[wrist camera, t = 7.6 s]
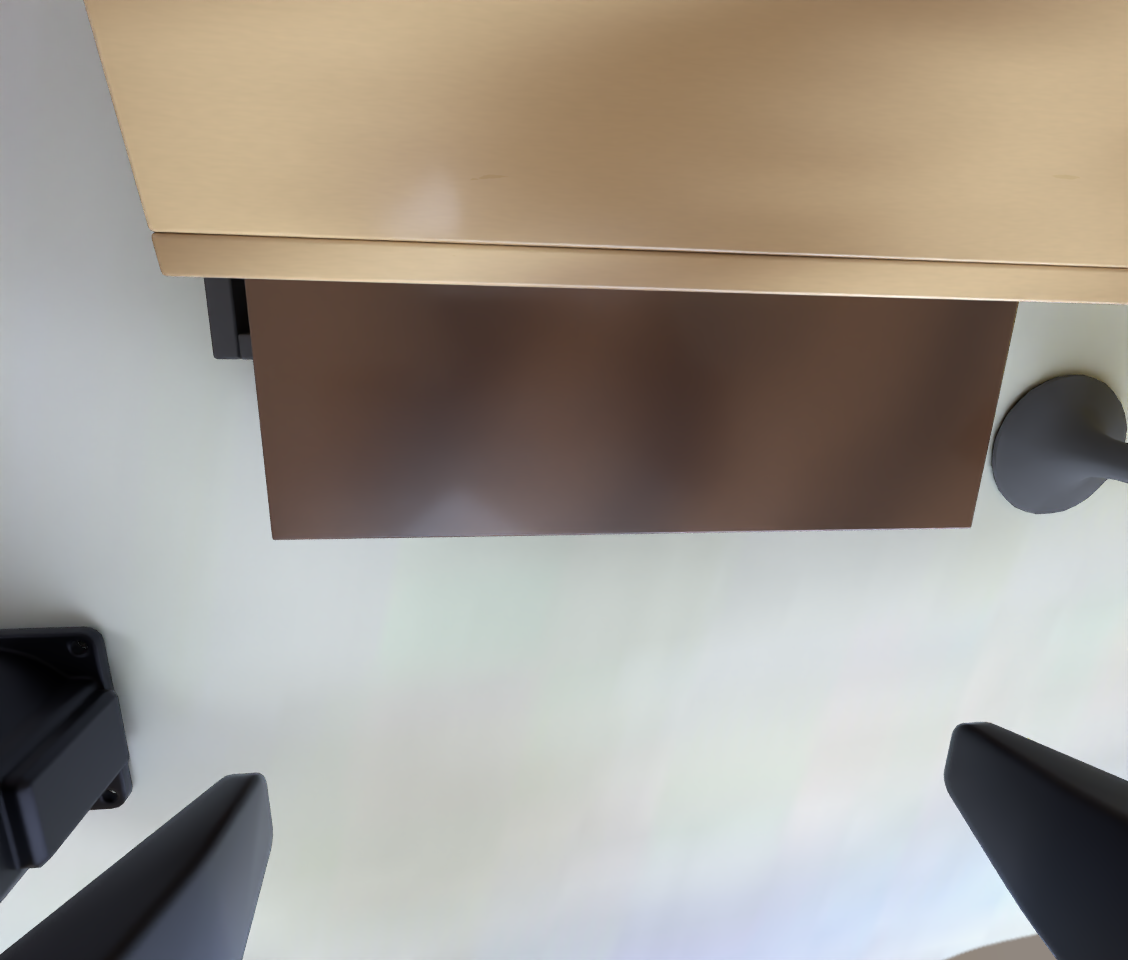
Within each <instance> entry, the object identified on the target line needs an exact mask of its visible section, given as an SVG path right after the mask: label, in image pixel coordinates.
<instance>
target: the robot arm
mask: <svg viewBox="0 0 1128 960" xmlns="http://www.w3.org/2000/svg"><path fill="white" fill-rule="evenodd" d="M78 641H82V642H84V643H85V644H86V645H87V647H88V648H83V647H82V646H80V645H79V643H78ZM128 761H129V752H128V747H127V741H126V736H125V731H124V726H123V721H122V716H121V710H120V705H119V700H118V696H117V695H116V693H115V692H114V689H113V684H112V679H111V674H110V669H109V664H108V659H107V653H106V648H105V643H104V639H103V637H102V635H101V634H100V633H99V632H98V631H97V630H95V629H93V628H90V627H59V628H27V629H0V903H1V902H2V900H3V899H4V898H5V897H6V896H7V894H8V893H9V892H10V891H11V889H12V888H13V887H14V886H15V885H16V883H17V882H18V881H19V880H20V879H21V877H22V876H23V875H24V874H25V872H26V871H27V870H28V869H29V868H39V867H42V866H43V865H44V864H45V863H46V862H47V861H48V860H49V859H50V858H51V857H52V856H53V855H54V853H55V852H56V851H57V850H58V848H59V847H60V846H61V845H62V843H63V842H64V841H65V840H66V838H67V837H68V836H69V835H70V833H71V832H72V831H73V830H74V828H75V827H76V826H77V825H78V823H79V822H80V821H81V820H82V818H83V817H84V816H85V815H86V813H87V812H88V811H89V810H97V809H112V808H117V807H119V806H121V805H122V804H123V803H124V802H125V800H126V799H127V798H128V796H129V795H130V793H131V792H132V782H131V777H130V772H129V767H128ZM944 781H945V786H946V788H947V791H948V793H949V795H950V797H951V798H952V800H953V801H954V803H955V805H956V806H957V808H958V810H959V811H960V813H961V814H962V816H963V818H964V819H965V821H966V822H967V824H968V826H969V827H970V829H971V831H972V832H973V834H974V835H975V837H976V839H977V840H978V842H979V844H980V845H981V847H982V848H983V850H984V852H985V853H986V855H987V856H988V858H989V860H990V861H991V863H992V865H993V866H994V868H995V869H996V871H997V873H998V874H999V876H1000V877H1001V879H1002V881H1003V882H1004V884H1005V886H1006V887H1007V889H1008V890H1009V892H1010V893H1011V895H1012V897H1013V898H1014V900H1015V901H1016V903H1017V904H1018V906H1019V907H1020V909H1021V910H1022V912H1023V913H1024V915H1025V916H1026V918H1027V919H1028V920H1029V922H1030V923H1031V925H1032V926H1033V928H1034V929H1035V930H1036V932H1037V933H1038V935H1039V936H1040V937H1041V939H1042V940H1043V941H1044V943H1045V944H1046V946H1047V947H1048V948H1049V950H1050V951H1051V952H1052V954H1053V955H1054V957H1055V958H1056V959H1057V960H1128V781H1126V780H1124V779H1122V778H1119V777H1117V776H1115V775H1112V774H1110V773H1107V772H1105V771H1103V770H1100V769H1098V768H1096V767H1093V766H1091V765H1089V764H1086V763H1084V762H1082V761H1079V760H1077V759H1075V758H1072V757H1070V756H1068V755H1065V754H1063V753H1061V752H1058V751H1056V750H1053V749H1051V748H1049V747H1046V746H1044V745H1042V744H1039V743H1037V742H1035V741H1032V740H1030V739H1028V738H1025V737H1023V736H1021V735H1018V734H1016V733H1014V732H1011V731H1009V730H1006V729H1004V728H1002V727H999V726H997V725H995V724H992V723H988V722H974V723H962V724H959V725H957V726H956V728H955V729H954V730H953V733H952V737H951V741H950V746H949V751H948V755H947V760H946V765H945V769H944ZM110 790H113V791H115V792H116V793H113V792H111V791H110ZM272 838H273V827H272V819H271V812H270V804H269V797H268V789H267V783H266V780H265V778H264V776H263V775H262V774H260V773H246V774H232V775H227V776H225V777H224V778H222V779H221V780H219V781H218V782H217V783H215V784H214V785H213V786H212V787H210V788H209V789H208V790H207V791H205V792H204V793H203V794H202V795H200V796H199V797H198V798H197V799H195V800H194V801H193V802H192V803H190V804H189V805H188V806H186V807H185V808H184V809H183V810H181V811H180V812H179V813H178V814H176V815H175V816H174V817H173V818H171V819H170V820H169V821H168V822H166V823H165V824H164V825H163V826H161V827H160V828H159V829H158V830H156V831H155V832H154V833H153V834H151V835H150V836H149V837H147V838H146V839H145V840H144V841H142V842H141V843H140V844H139V845H137V846H136V847H135V848H134V849H132V850H131V851H130V852H129V853H127V854H126V855H125V856H124V857H122V858H121V859H120V860H119V861H117V862H116V863H115V864H114V865H112V866H111V867H110V868H108V869H107V870H106V871H105V872H103V873H102V874H101V875H100V876H98V877H97V878H96V879H95V880H93V881H92V882H91V883H90V884H88V885H87V886H86V887H85V888H83V889H82V890H81V891H80V892H78V893H77V894H76V895H75V896H73V897H72V898H71V899H69V900H68V901H67V902H66V903H64V904H63V905H62V906H61V907H59V908H58V909H57V910H56V911H54V912H53V913H52V914H51V915H49V916H48V917H47V918H46V919H44V920H43V921H42V922H41V923H39V924H38V925H37V926H35V927H34V928H33V929H32V930H30V931H29V932H28V933H27V934H25V935H24V936H23V937H22V938H20V939H19V940H18V941H17V942H15V943H14V944H13V945H12V946H10V947H9V948H8V949H7V950H5V951H4V952H3V953H2V954H0V960H242V958H243V955H244V951H245V947H246V943H247V939H248V935H249V932H250V928H251V924H252V920H253V916H254V913H255V909H256V905H257V901H258V897H259V893H260V890H261V886H262V882H263V878H264V874H265V870H266V867H267V863H268V859H269V855H270V851H271V846H272Z"/></svg>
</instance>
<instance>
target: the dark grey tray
mask: <svg viewBox="0 0 1128 960" xmlns="http://www.w3.org/2000/svg"><path fill="white" fill-rule="evenodd" d="M204 282H205V291H206V299H207V307H208V315H209V323H210V331H211V339H212V347H213V355H214V358H216V359H250V360H253V354H252V345H251V336H250V326H249V317H248V308H247V298H246V289H245V280H244V279H242V278H208V277H204Z"/></svg>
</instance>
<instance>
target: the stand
mask: <svg viewBox="0 0 1128 960" xmlns="http://www.w3.org/2000/svg"><path fill="white" fill-rule="evenodd" d="M244 280H245V289H246V298H247V308H248V317H249V326H250V336H251V345H252V354H253V363H254V373H255V382H256V391H257V400H258V410H259V419H260V428H261V438H262V447H263V456H264V465H265V475H266V484H267V493H268V503H269V512H270V521H271V530H272V538H273V539H274V540H296V539H356V538H416V537H475V536H535V535H595V534H655V533H714V532H774V531H834V530H893V529H953V528H971V525H972V520H973V515H974V511H975V506H976V501H977V497H978V492H979V487H980V482H981V478H982V473H983V468H984V464H985V459H986V454H987V449H988V445H989V440H990V435H991V431H992V426H993V421H994V417H995V412H996V407H997V402H998V398H999V393H1000V388H1001V384H1002V379H1003V374H1004V369H1005V365H1006V360H1007V355H1008V351H1009V346H1010V341H1011V337H1012V332H1013V327H1014V322H1015V318H1016V313H1017V308H1018V304H1019V301H987V300H953V299H919V298H885V297H851V296H817V295H783V294H750V293H716V292H682V291H648V290H614V289H580V288H546V287H513V286H479V285H445V284H411V283H377V282H343V281H309V280H276V279H244Z"/></svg>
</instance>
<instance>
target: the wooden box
mask: <svg viewBox="0 0 1128 960" xmlns="http://www.w3.org/2000/svg"><path fill="white" fill-rule="evenodd" d="M84 4H85V7H86V11H87V14H88V18H89V21H90V25H91V28H92V32H93V35H94V39H95V42H96V46H97V49H98V53H99V56H100V60H101V63H102V67H103V70H104V74H105V77H106V81H107V84H108V88H109V91H110V95H111V98H112V102H113V105H114V109H115V112H116V116H117V119H118V123H119V126H120V130H121V133H122V137H123V140H124V144H125V147H126V151H127V154H128V158H129V161H130V165H131V168H132V172H133V175H134V179H135V182H136V185H137V189H138V192H139V196H140V199H141V203H142V206H143V210H144V213H145V217H146V220H147V224H148V227H149V229H150V230H151V231H154V232H155V233H153V234H152V241H153V245H154V248H155V252H156V255H157V259H158V262H159V266H160V269H161V272H162V274H163V275H165V276H174V277H208V278H242V279H276V280H309V281H343V282H377V283H411V284H445V285H479V286H513V287H546V288H580V289H614V290H648V291H682V292H716V293H750V294H783V295H817V296H851V297H885V298H919V299H953V300H987V301H1020V302H1054V303H1088V304H1122V305H1128V0H84Z"/></svg>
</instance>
